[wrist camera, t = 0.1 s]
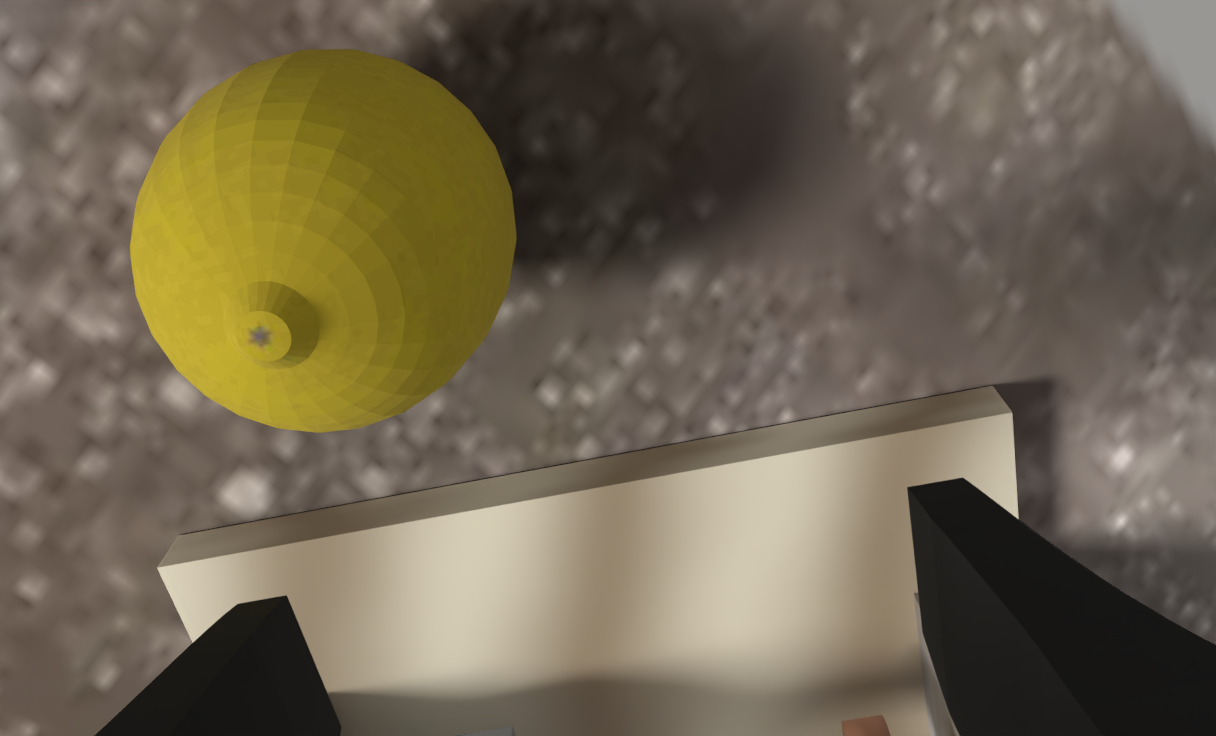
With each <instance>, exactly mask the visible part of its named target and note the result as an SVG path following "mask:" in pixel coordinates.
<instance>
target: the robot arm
mask: <svg viewBox="0 0 1216 736" xmlns="http://www.w3.org/2000/svg"><path fill="white" fill-rule="evenodd" d="M907 491H908V501H909V510H910V520H911V529H912V539H913V548H914V558H915V567H916V576H917V586H918V595H919V605H920V614H921V624H922V633H923V636H924V639H925V642H926V645H927V648H928V651H929V654H930V658H931V661H932V664H933V667H934V670H935V673H936V676H937V679H938V682H939V685H940V688H941V691H942V694H943V697H944V699H945V702H946V705H947V708H948V711H949V714H950V716H951V718H952V720H953V723H954V725H955V727H956V729H957V731H958V733H959V735H960V736H1216V645H1215V644H1213V643H1211V642H1209V641H1207V640H1205V639H1203V638H1201V637H1199V636H1197V635H1195V634H1194V633H1192V632H1190V631H1188V630H1186V629H1184V628H1183V627H1181V626H1179V625H1177V624H1175V623H1174V622H1172V621H1170V620H1168V619H1167V618H1165V617H1163V616H1162V615H1160V614H1158V613H1157V612H1155V611H1153V610H1152V609H1150V608H1148V607H1147V606H1145V605H1143V604H1142V603H1140V602H1138V601H1137V600H1135V599H1133V598H1132V597H1130V596H1128V595H1127V594H1125V593H1123V592H1122V591H1120V590H1119V589H1117V588H1116V587H1114V586H1112V585H1111V584H1109V583H1108V582H1106V581H1105V580H1103V579H1102V578H1100V577H1099V576H1097V575H1096V574H1095V573H1093V572H1092V571H1090V570H1089V569H1087V568H1086V567H1084V566H1083V565H1081V564H1080V563H1078V562H1077V561H1076V560H1074V559H1073V558H1071V557H1070V556H1068V555H1067V554H1065V553H1064V552H1062V551H1061V550H1060V549H1058V548H1057V547H1055V546H1054V545H1053V544H1051V543H1050V542H1049V541H1047V540H1046V539H1044V538H1043V537H1042V536H1040V535H1039V534H1038V533H1036V532H1035V531H1034V530H1032V529H1031V528H1030V527H1028V526H1027V525H1026V524H1024V523H1023V522H1021V521H1020V520H1019V519H1017V518H1016V517H1015V516H1014V515H1012V514H1011V513H1010V512H1008V511H1007V510H1006V509H1004V508H1003V507H1002V506H1000V505H999V504H998V503H997V502H995V501H994V500H993V499H991V498H990V497H989V496H987V495H986V494H985V493H983V492H982V491H981V490H980V489H978V488H977V487H975V486H974V485H973V484H971V483H970V482H969V481H967V480H966V479H964V478H957V479H951V480H945V481H940V482H934V483H928V484H922V485H917V486H911V487H907ZM340 734H341V725H340V722H339V720H338V717H337V715H336V713H335V710H334V708H333V705H332V703H331V700H330V698H329V696H328V693H327V691H326V688H325V686H324V684H323V681H322V679H321V676H320V674H319V672H318V669H317V667H316V664H315V662H314V659H313V657H312V655H311V652H310V650H309V647H308V645H307V643H306V640H305V638H304V635H303V633H302V631H301V628H300V626H299V623H298V621H297V619H296V616H295V614H294V611H293V609H292V606H291V604H290V602H289V599H288V597H287V595H285V596H279V597H274V598H268V599H262V600H257V601H251V602H245V603H239V604H237V605H236V606H234V607H233V608H232V609H231V610H229V611H228V612H227V613H226V614H224V615H223V616H222V617H221V618H220V619H218V620H217V621H216V622H215V623H214V624H213V625H212V626H211V627H210V628H208V629H207V630H206V631H205V632H204V633H203V634H202V635H201V636H200V637H199V638H198V639H196V640H195V641H194V642H193V643H192V644H191V645H190V646H189V647H188V648H187V649H186V650H185V651H184V652H183V653H182V654H181V655H179V656H178V657H177V658H176V659H175V660H174V661H173V662H172V663H171V664H170V665H169V666H168V667H167V668H166V669H165V670H164V671H163V672H162V673H161V674H160V675H159V676H158V677H156V678H155V679H154V680H153V681H152V682H151V683H150V684H149V685H148V686H147V687H146V688H145V689H144V690H143V691H142V692H141V693H140V694H138V695H137V696H136V697H135V698H134V699H133V700H132V701H131V702H130V703H129V704H128V705H127V706H126V707H125V708H124V709H123V710H122V711H121V712H119V713H118V714H117V715H116V716H115V717H114V718H113V719H112V720H111V721H110V722H109V723H108V724H107V725H106V726H105V727H104V728H102V729H101V730H100V731H99V732H98V733H97V734H96V735H95V736H340Z"/></svg>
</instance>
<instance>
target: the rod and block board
mask: <svg viewBox="0 0 1216 736" xmlns="http://www.w3.org/2000/svg"><path fill="white" fill-rule="evenodd" d="M957 478H964V479H966V480H967V481H969V482H970V483H971V484H973V485H974V486H975V487H977V488H978V489H980V490H981V491H982V492H983V493H985V494H986V495H987V496H989V497H990V498H991V499H993V500H994V501H995V502H997V503H998V504H999V505H1000V506H1002V507H1003V508H1004V509H1006V510H1007V511H1008V512H1010V513H1011V514H1012V515H1014V516H1015V517H1016V518H1017V519H1019V518H1018V501H1017V484H1016V467H1015V449H1014V432H1013V415H1012V411H1011V410H1010V409H1009V407H1008V406H1007V404H1006V403H1005V402H1004V400H1003V399H1002V398H1001V396H1000V395H999V394H998V392H997V391H996V389H995V388H994V387H993V386H988V387H982V388H977V389H972V390H966V391H961V392H955V393H950V394H944V395H939V396H934V397H928V398H923V399H917V400H912V401H906V402H901V403H896V404H890V405H885V406H879V407H874V408H868V409H863V410H858V411H852V412H847V413H841V414H836V415H830V416H825V417H820V418H814V419H809V420H803V421H798V422H792V423H787V424H782V425H776V426H771V427H765V428H760V429H754V430H749V431H744V432H738V433H733V434H727V435H722V436H716V437H711V438H706V439H700V440H695V441H689V442H684V443H678V444H673V445H668V446H662V447H657V448H651V449H646V450H640V451H635V452H630V453H624V454H619V455H613V456H608V457H602V458H597V459H592V460H586V461H581V462H575V463H570V464H564V465H559V466H554V467H548V468H543V469H537V470H532V471H526V472H521V473H516V474H510V475H505V476H499V477H494V478H488V479H483V480H478V481H472V482H467V483H461V484H456V485H450V486H445V487H440V488H434V489H429V490H423V491H418V492H412V493H407V494H402V495H396V496H391V497H385V498H380V499H374V500H369V501H364V502H358V503H353V504H347V505H342V506H336V507H331V508H326V509H320V510H315V511H309V512H304V513H298V514H293V515H288V516H282V517H277V518H271V519H266V520H260V521H255V522H250V523H244V524H239V525H233V526H228V527H222V528H217V529H212V530H206V531H201V532H195V533H190V534H184V535H179V536H177V538H176V539H175V541H174V542H173V544H172V545H171V547H170V549H169V550H168V552H167V553H166V555H165V556H164V558H163V559H162V561H161V562H160V564H159V566H158V567H157V569H158V571H159V573H160V575H161V577H162V579H163V581H164V583H165V585H166V588H167V590H168V592H169V594H170V596H171V598H172V600H173V602H174V604H175V606H176V608H177V611H178V613H179V615H180V617H181V619H182V621H183V623H184V625H185V627H186V629H187V632H188V634H189V636H190V638H191V640H192V642H194V641H195V640H196V639H198V638H199V637H200V636H201V635H202V634H203V633H204V632H205V631H206V630H207V629H208V628H210V627H211V626H212V625H213V624H214V623H215V622H216V621H217V620H218V619H220V618H221V617H222V616H223V615H224V614H226V613H227V612H228V611H229V610H231V609H232V608H233V607H234V606H236V605H237V604H239V603H245V602H251V601H257V600H262V599H268V598H274V597H279V596H285V595H287V597H288V599H289V602H290V604H291V606H292V609H293V611H294V614H295V616H296V619H297V621H298V623H299V626H300V628H301V631H302V633H303V635H304V638H305V640H306V643H307V645H308V647H309V650H310V652H311V655H312V657H313V659H314V662H315V664H316V667H317V669H318V672H319V674H320V676H321V679H322V681H323V684H324V686H325V688H326V691H327V693H328V696H329V698H330V700H331V703H332V705H333V708H334V710H335V713H336V715H337V717H338V720H339V722H340V725H341V734H340V736H456V735H462V734H468V733H474V732H481V731H487V730H493V729H499V728H505V727H511V726H513V729H514V732H515V735H516V736H960V735H959V733H958V731H957V729H956V727H955V725H954V723H953V720H952V718H951V716H950V714H949V711H948V708H947V705H946V702H945V699H944V697H943V694H942V691H941V688H940V685H939V682H938V679H937V676H936V673H935V670H934V667H933V664H932V661H931V658H930V654H929V651H928V648H927V645H926V642H925V639H924V636H923V633H922V624H921V614H920V605H919V595H918V586H917V576H916V567H915V558H914V548H913V539H912V529H911V520H910V510H909V501H908V491H907V487H911V486H917V485H922V484H928V483H934V482H940V481H945V480H951V479H957Z"/></svg>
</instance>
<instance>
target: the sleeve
mask: <svg viewBox="0 0 1216 736" xmlns="http://www.w3.org/2000/svg"><path fill="white" fill-rule="evenodd" d="M456 736H516V735H515V732H514V729H513V726H511V727H505V728H499V729H493V730H487V731H481V732H474V733H468V734H462V735H456Z"/></svg>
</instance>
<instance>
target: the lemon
mask: <svg viewBox="0 0 1216 736" xmlns="http://www.w3.org/2000/svg"><path fill="white" fill-rule="evenodd" d="M516 239H517V237H516V226H515V216H514V207H513V198H512V190H511V187H510V185H509V182H508V179H507V177H506V174H505V171H504V168H503V166H502V163H501V160H500V158H499V155H498V152H497V150H496V147H495V145H494V144H493V142H492V141H491V139H490V138H489V136H488V135H487V134H486V132H485V131H484V129H483V128H482V126H481V125H480V123H479V122H478V120H477V119H476V118H475V116H474V115H473V113H472V112H471V111H470V110H469V109H468V108H467V107H466V106H465V105H464V104H462V103H461V102H460V101H459V100H458V99H457V98H456V97H455V96H454V95H452V94H451V93H450V92H449V91H448V90H447V89H446V88H445V87H443V86H442V85H441V84H440V83H439V82H437V81H436V80H434V79H432V78H430V77H428V76H426V75H424V74H423V73H421V72H419V71H417V70H415V69H413V68H412V67H410V66H408V65H406V64H404V63H402V62H400V61H398V60H394V59H390V58H386V57H382V56H378V55H374V54H370V53H367V52H363V51H359V50H353V49H328V50H302V51H298V52H294V53H290V54H287V55H283V56H279V57H276V58H272V59H268V60H265V61H261V62H257V63H255V64H252V65H250V66H248V67H246V68H245V69H243V70H241V71H240V72H238V73H237V74H235V75H233V76H232V77H230V78H228V79H227V80H225V81H224V82H222V83H220V84H219V85H217V86H215V87H214V88H212V89H210V90H209V91H208V92H206V93H205V94H204V95H203V96H201V98H200V99H199V100H198V101H197V102H196V103H195V104H194V106H193V107H192V108H191V109H190V110H189V111H188V112H187V113H186V115H185V116H184V117H183V118H182V119H181V120H180V121H179V123H178V124H177V125H176V126H175V127H174V128H173V129H172V131H171V132H170V133H169V134H168V135H167V136H166V138H165V139H164V141H163V143H162V144H161V146H160V148H159V150H158V152H157V154H156V157H155V159H154V161H153V163H152V165H151V168H150V170H149V172H148V174H147V176H146V178H145V181H144V183H143V185H142V187H141V190H140V192H139V194H138V198H137V203H136V208H135V215H134V222H133V229H132V236H131V243H130V255H131V263H132V270H133V277H134V284H135V291H136V297H137V299H138V302H139V304H140V307H141V309H142V311H143V314H144V316H145V319H146V321H147V324H148V326H149V329H150V331H151V333H152V335H153V337H154V338H155V340H156V341H157V342H158V344H159V345H160V347H161V348H162V349H163V351H164V352H165V354H166V355H167V357H168V358H169V359H170V361H171V362H172V364H173V365H174V366H175V368H176V369H177V370H178V371H179V372H180V373H181V374H182V375H183V376H184V377H185V378H186V379H188V380H189V381H190V382H191V383H192V384H193V385H194V386H195V387H196V388H198V389H199V390H200V391H201V392H202V393H203V394H204V395H205V396H207V397H208V398H210V399H212V400H214V401H215V402H217V403H219V404H221V405H222V406H224V407H226V408H227V409H229V410H231V411H233V412H234V413H236V414H238V415H240V416H242V417H245V418H248V419H251V420H254V421H257V422H260V423H263V424H266V425H269V426H272V427H275V428H281V429H290V430H300V431H309V432H318V433H322V432H331V431H339V430H348V429H357V428H361V427H364V426H367V425H370V424H373V423H375V422H378V421H381V420H384V419H386V418H389V417H392V416H395V415H398V414H400V413H403V412H405V411H406V410H408V409H410V408H411V407H413V406H414V405H416V404H417V403H418V402H420V401H421V400H423V399H424V398H426V397H427V396H429V395H430V394H431V393H433V392H434V391H436V390H437V389H439V388H440V387H442V386H443V385H444V384H446V383H447V382H448V381H449V380H450V379H451V378H452V377H453V376H454V375H455V374H456V372H457V371H458V370H459V369H460V368H461V367H462V365H463V364H464V363H465V362H466V361H467V359H468V358H469V357H470V356H471V355H472V353H473V352H474V351H475V350H476V349H477V348H478V346H479V345H480V344H481V343H482V342H483V340H484V339H485V337H486V336H487V334H488V332H489V330H490V328H491V326H492V324H493V322H494V319H495V317H496V315H497V313H498V311H499V309H500V307H501V304H502V302H503V300H504V298H505V296H506V293H507V291H508V288H509V284H510V278H511V271H512V265H513V258H514V252H515V246H516Z"/></svg>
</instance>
